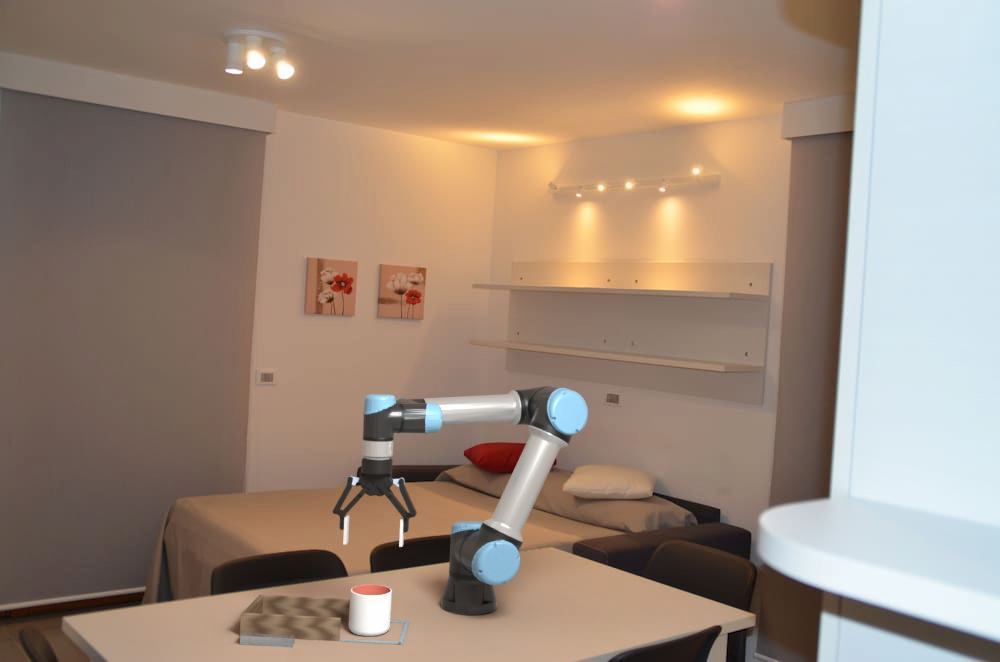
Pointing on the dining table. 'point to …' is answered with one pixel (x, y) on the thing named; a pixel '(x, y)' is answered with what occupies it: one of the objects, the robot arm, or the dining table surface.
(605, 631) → the dining table surface
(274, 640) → the hook bar
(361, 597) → the cup
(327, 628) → the cubby
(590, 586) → the dining table surface
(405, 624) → the pale blue bent rod
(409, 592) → the dining table surface
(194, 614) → the dining table surface
